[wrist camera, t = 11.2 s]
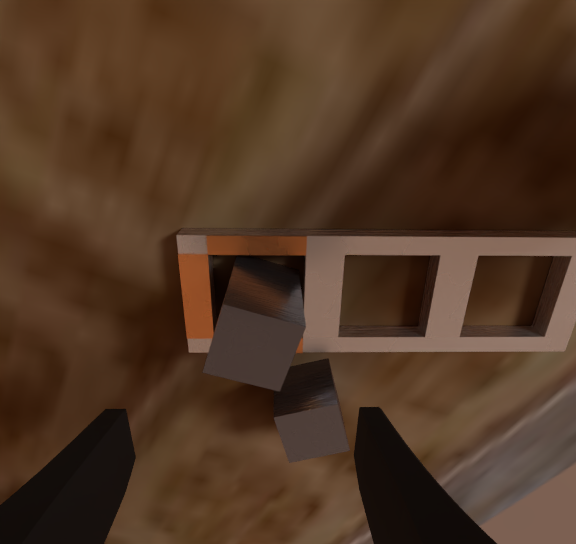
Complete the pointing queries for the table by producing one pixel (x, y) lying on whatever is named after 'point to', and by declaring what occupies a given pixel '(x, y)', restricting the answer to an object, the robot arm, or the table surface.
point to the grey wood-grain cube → (309, 413)
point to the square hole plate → (437, 243)
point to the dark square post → (258, 324)
